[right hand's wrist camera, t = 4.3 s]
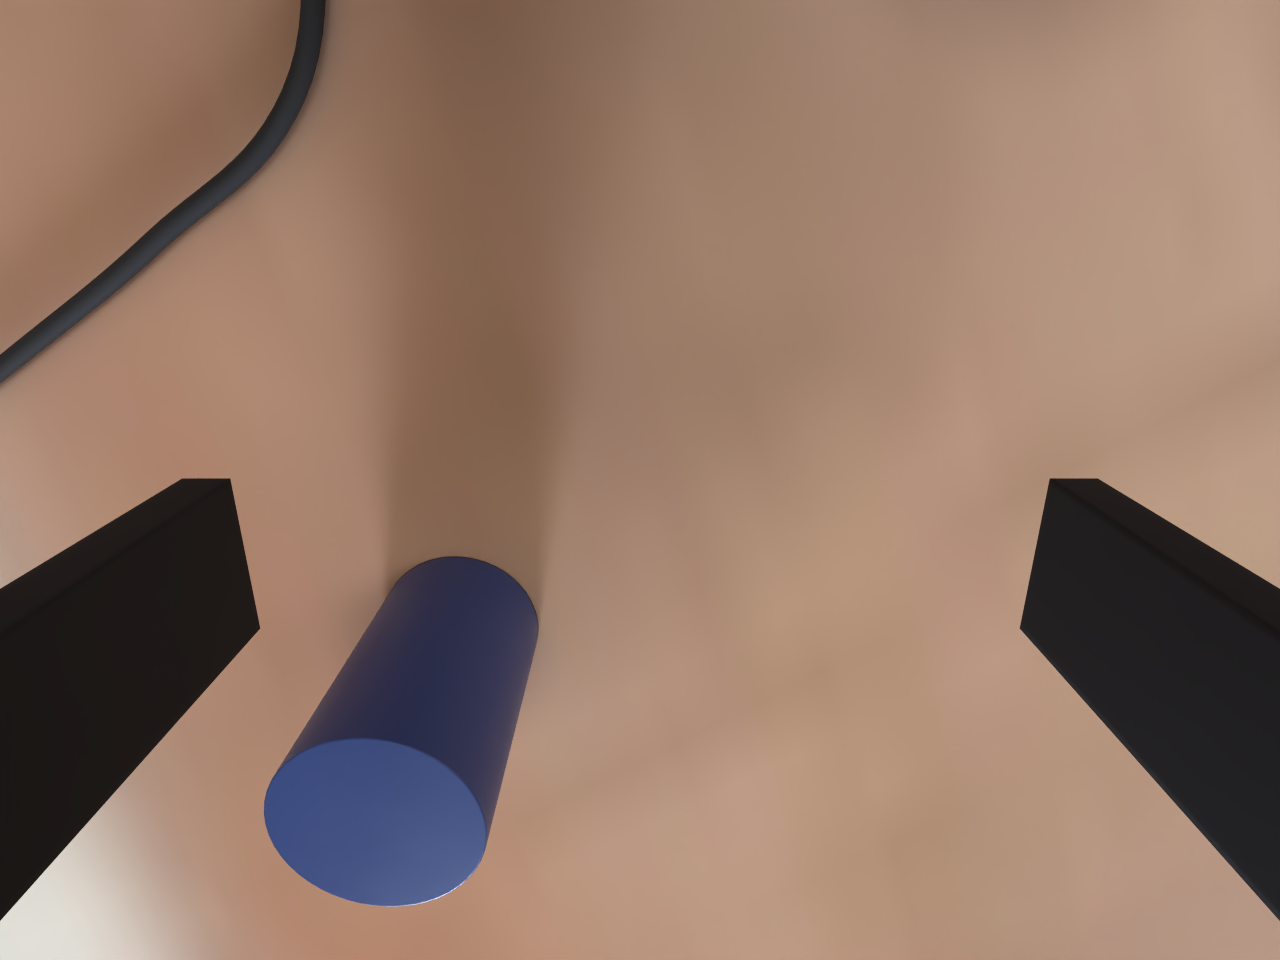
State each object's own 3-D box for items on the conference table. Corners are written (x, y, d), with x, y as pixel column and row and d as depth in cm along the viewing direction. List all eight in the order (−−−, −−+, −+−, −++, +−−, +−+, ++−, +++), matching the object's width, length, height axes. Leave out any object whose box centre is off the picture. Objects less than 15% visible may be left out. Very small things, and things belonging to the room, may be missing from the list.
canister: (561, 590, 34) (518, 784, 23) (508, 707, 36) (446, 931, 26) (410, 533, 33) (293, 707, 22) (367, 657, 35) (241, 868, 25)
